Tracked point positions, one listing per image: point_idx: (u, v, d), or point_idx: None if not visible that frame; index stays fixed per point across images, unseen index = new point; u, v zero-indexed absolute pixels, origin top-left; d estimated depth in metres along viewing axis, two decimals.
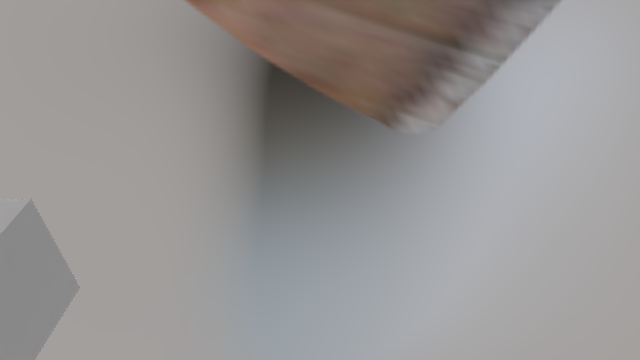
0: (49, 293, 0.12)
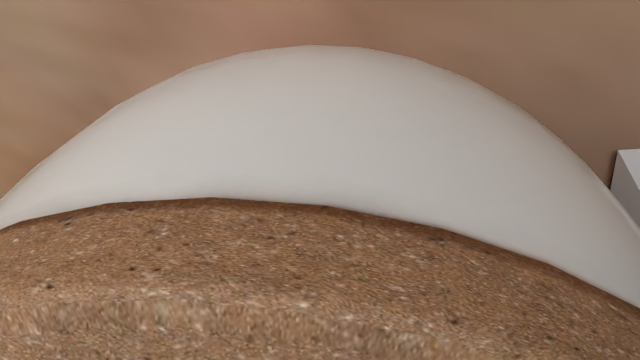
0: None
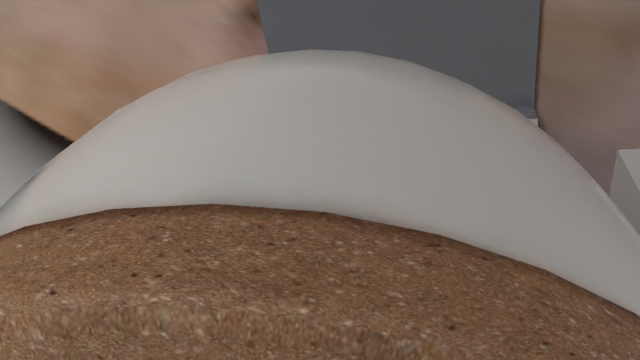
0: None
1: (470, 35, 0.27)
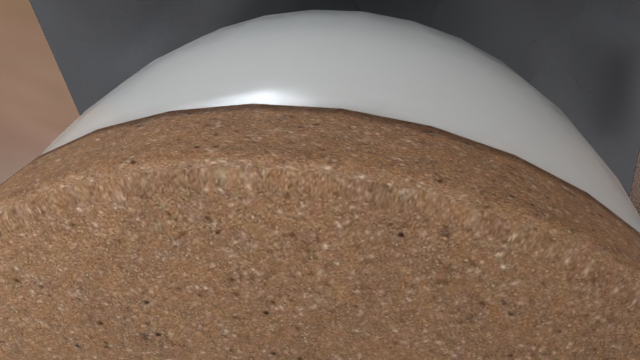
0: None
1: None
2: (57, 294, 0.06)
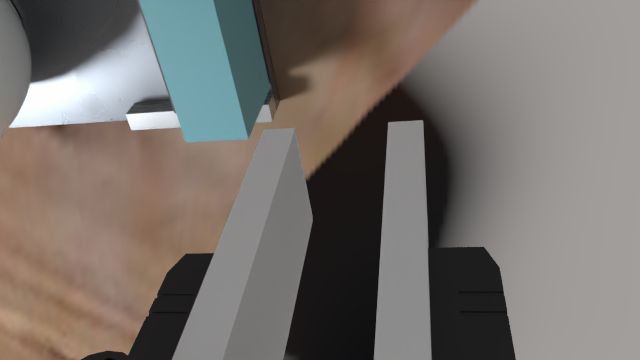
0: (303, 219, 0.13)
1: None
2: None
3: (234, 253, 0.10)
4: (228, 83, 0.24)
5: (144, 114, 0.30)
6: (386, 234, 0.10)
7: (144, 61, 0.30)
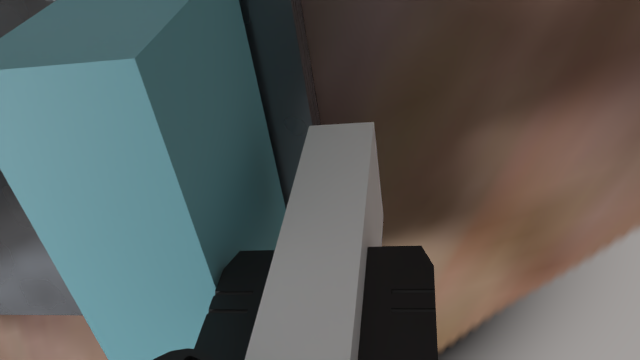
0: None
1: None
2: None
3: (296, 250, 0.10)
4: None
5: None
6: (324, 233, 0.10)
7: None
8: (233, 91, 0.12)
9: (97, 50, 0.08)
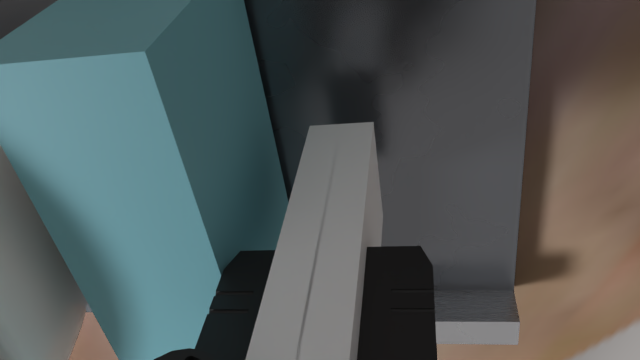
0: None
1: None
2: None
3: (296, 250, 0.10)
4: None
5: None
6: (323, 233, 0.10)
7: None
8: (238, 87, 0.12)
9: (108, 44, 0.08)
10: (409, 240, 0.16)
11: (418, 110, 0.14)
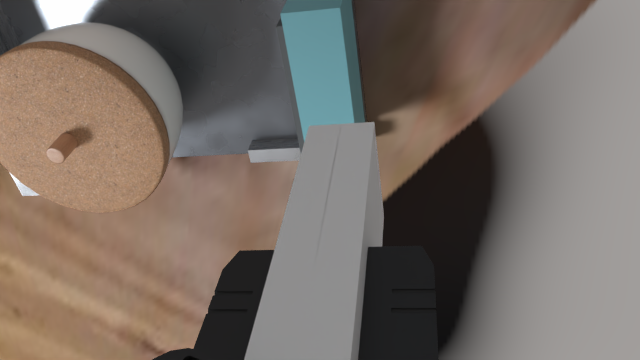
0: None
1: (156, 21, 0.35)
2: (20, 170, 0.33)
3: (295, 250, 0.10)
4: None
5: (263, 150, 0.38)
6: (324, 233, 0.10)
7: (265, 109, 0.38)
8: (350, 26, 0.32)
9: (325, 6, 0.28)
10: None
11: None
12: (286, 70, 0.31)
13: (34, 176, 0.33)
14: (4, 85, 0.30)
